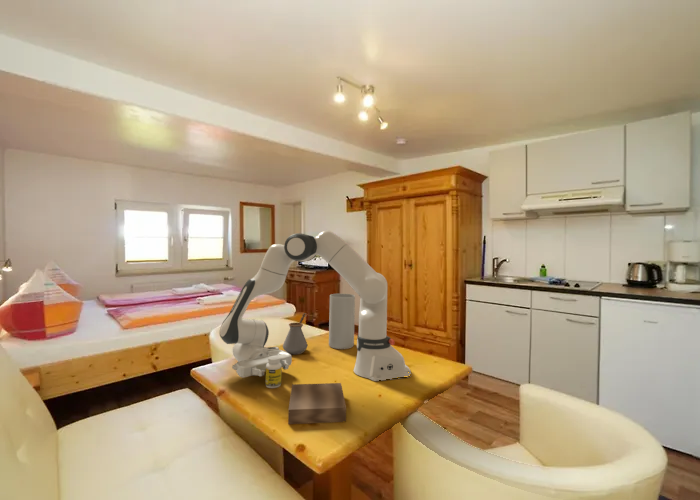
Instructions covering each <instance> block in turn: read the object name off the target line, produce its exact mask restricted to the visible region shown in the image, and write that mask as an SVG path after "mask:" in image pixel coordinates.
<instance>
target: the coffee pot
mask: <svg viewBox="0 0 700 500" xmlns="http://www.w3.org/2000/svg"><path fill="white" fill-rule="evenodd" d="M305 317H306V312H304V313H302V316H301V317H300V320H299V322H291V323H288V326H289V330H288V332H287V335H286V337H285V340H284V342H283V344H282V348H283V351H285V352H287V353H289V354H290V355H301V354H302V353H304V352H306V349H308V342H307V339H306V337H305V335H304V332H303V330H302V327H303V326H304V323H303V320H304V318H305Z"/></svg>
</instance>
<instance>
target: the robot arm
mask: <svg viewBox="0 0 700 500" xmlns="http://www.w3.org/2000/svg"><path fill="white" fill-rule="evenodd" d="M316 256H318V257H320V258H322V259H323V260H324V261H325V262H326V263H327V264H328V265H330V267H331V268H332V269H334V271H335V272H337V273H338V274H339V275H340V276H341V277H342V278H343V280H345V282H346V283H347V284H348V285H349V287H351V288H352V290H353V291H354V292H355V293H356V294H357V295H358V296H359V298H360V299H359V309H358V310H359V311H358V334H357V338H356V349H357V353H356V360H355V363H354V368H353V372H354V373H355V375H357V376H360V377H362V378H366V379H369V380H371V381H373V382H380V381H379V380H381V381H387V380H386V379H390V380H393V379H392V378H397V377H404V376H409V375H410V374H411V375H412V373H411V372H412V371H411V369H410V367H409V366H408V365H406V361H405V357H404V356H403V355H402V353H401V352H399V351H398V350H397V349H396V348H395V347H394V345H395V340H394V339H393V338H391V337H390V336H388V335H387V325H388V322H387V321H388V281H387V279H386V277H385V276H384V275H383V274H382V273H380V272H376V270H375V269H374V268H373V267H372V266H370V265H369V263H368V262H367V261H366V260H365V259H364V258H363V257H362V256H361V255H360V254H359V253H358V252H357V251H356V250H355V249H354V248H353V247H352V246H351V245H350V244H348V242H346V241H345V240H344V239H342V238H341V237H340V236H339V235H338V234H336V233H334V232H333V231H331V230H327V229H326V230H323V231H320V232H319V233H318V234H317V235H315V236H313V235H308V234H305V233H301V232H299V233H293V234H291V235H289V236H288V237H287V238H286V240H285V241H284V244H281V243H274V244H272V245H270V246H269V247H268V249H267V250H266V252H265V254H264V257H263V259H262V261H261V265H260V267H259V269H258V271H257V273H256V274H254V276H253V277H252V278H250V279H248V280H247V281H246V282H245V284H244V285H243V287H242V289H241V290H240V292H239V294H238V296H237V298H236V299H235V301H234V304H233V305H232V307H231V309H230V310H229V313H228V314H227V316H226V317H225V318H224V320H223V322H222V323H221V326H220V329H219V337H220V338H221V340H222V341H223V342H224V343H225V344H227V345H232V344H233V346H232V351H231V352H232V356H233V357H234V359H235V360H236V361H237V362H236V363H234V364H233V365H232V366H231V368H232V369H233V370H235V372H236V374H237V375H238V377H240V378H248V377H251V376H259V377H263V376H265V373H266V365H267V364H268V363H269V362H268V358H269V357H270V356H279V357H280V362H279V363H281V365H282V369H283V370H288V369H289V366H291V365H292V363H293V357H292V354H289V353H287V352H286V351H285V350H284V349H283V350H282V349H280V348H279V347H278V346H273V347H271V346H269V347H265V345H266V344H267V342H268V339H269V335H270V333H269V327H268V325H267V323H266V322H265V321H264V320H262V319H256V318H255V319H254V318H253V319H252V318H243V316H244V314H245V313H246V310H247V308H249V305H250V303H251V302H252V300H254V299H255V298H257V297H259V296H263V295H268V294H271V293H275V292H276V291H278V290H280V289H281V288H282V287H283V286H284V283H285V281H286V279H287V276H288V272H289V269H290V267H291V265H292V264H293V263H294V262H302V263H304V262H309V261H312V260H313V259H315V257H316ZM408 372H409V373H408Z"/></svg>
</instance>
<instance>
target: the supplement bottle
mask: <svg viewBox="0 0 700 500" xmlns="http://www.w3.org/2000/svg"><path fill="white" fill-rule="evenodd" d="M268 362H269V363H268V364H267V365H266V372H265V381H264V383H265V387H266V388H269V389H276V388H279V387H281V384H282V369H283V367H282V365H281V363H279V362H280V357H279V356H270V357H269V358H268Z"/></svg>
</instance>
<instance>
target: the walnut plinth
mask: <svg viewBox="0 0 700 500" xmlns="http://www.w3.org/2000/svg"><path fill="white" fill-rule="evenodd" d="M287 411H288V413H287V414H288V417H287V419H288V421H287V424H288V425H298V424H299V425H300V424H320V423H321V424H322V423H323V424H324V423H326V424H327V423H344V422H343V421H346V422H347V405H346V400H345V396H344V391H343V386H342V382H334V383H332V382H330V383H328V382H327V383H299V384H296V383H295V384H293V383H292V384H291V389H290V397H289V405H288V410H287Z"/></svg>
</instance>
